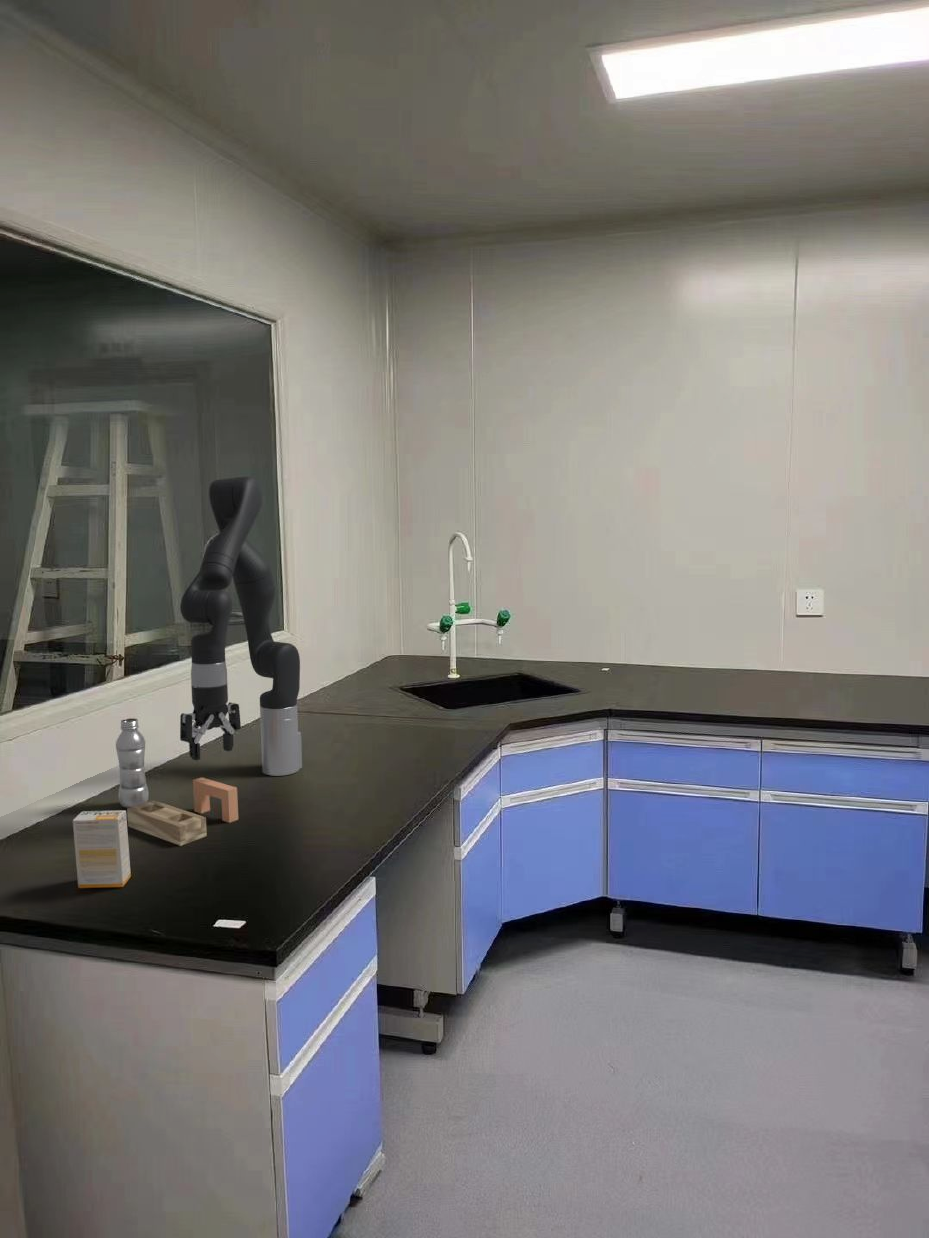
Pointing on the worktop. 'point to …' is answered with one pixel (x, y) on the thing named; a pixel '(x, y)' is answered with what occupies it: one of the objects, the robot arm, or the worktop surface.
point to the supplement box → (101, 849)
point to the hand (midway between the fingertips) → (212, 754)
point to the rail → (167, 822)
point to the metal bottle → (131, 764)
